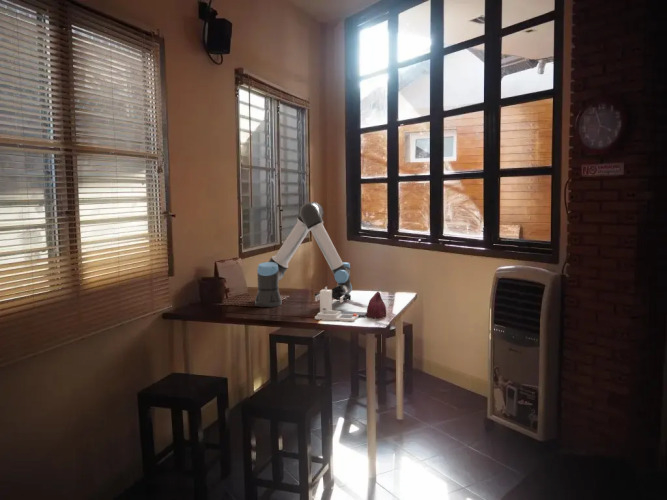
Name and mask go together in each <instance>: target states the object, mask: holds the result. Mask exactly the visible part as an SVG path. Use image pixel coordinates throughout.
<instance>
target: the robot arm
mask: <svg viewBox="0 0 667 500" xmlns="http://www.w3.org/2000/svg"><path fill="white" fill-rule="evenodd" d="M323 216H324V210H323V207H322V205H320V204H319V203H318V202H315V201H311V202H306V203H304V204H303V205H302V206H301V208H300V211H299V214H298V216H297V217H296V220H297V222H296V224H295V225H294V226H293V228H292V229H291V231H290V233H289V234H288V236H287V237H286V239H285V240H284V242H283V243H282V245H281V246H280V248H279V250H278V251H277V253H276V254H275V255H272V256H271V257H270V258H269V260H268V261H267V262H266V261H264V262H261V263H259V264H258V265H257V270H256V271H257V294H256V296H255V298H254V299H255V300H254V305H255V306H256V307H260V308H273V307H279V306H281V305H282V304H283V299H282V297H281V294H280V290H279V281H281V280H282V279H283V277H284V276H285V273H286V272H287V270H288V269H289V262H290V261H291V259H292V258H293V256H294V255H295V253H296V251H297V250H298V248H299V247H300V246H301V244H302V242H303V241H304V240H305V238H306V237H307V235H308V234H309V232H311V235H313V238H314V240H315V241H316V244H317V245H318V247H319V249H320V252H321V253H322V254H323V256H324V258H325V260H326V262H327V264H328V266H329V268H330V270H331V272H332V274H333V276H334V280H335V282H337V283H336V284H337V285H336V286H334V287H333V288H332V289H331V290H332V299H334V300H336V301H339V303H343V302H344V301H351V299H352V297H351V292H352V290H353V286H352V283H351V264H350V262H346V261H345V262H344V261H342V258H341V257H340V255H339V253H338V251H337V249H336V247H335V245H334V244H333V241H332V239H331V237H330V235H329V233H328V232H327V230H326V228H325V226H324V219H323ZM314 300H315V301H314V302H318V301H320V292H316V293H314Z"/></svg>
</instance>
